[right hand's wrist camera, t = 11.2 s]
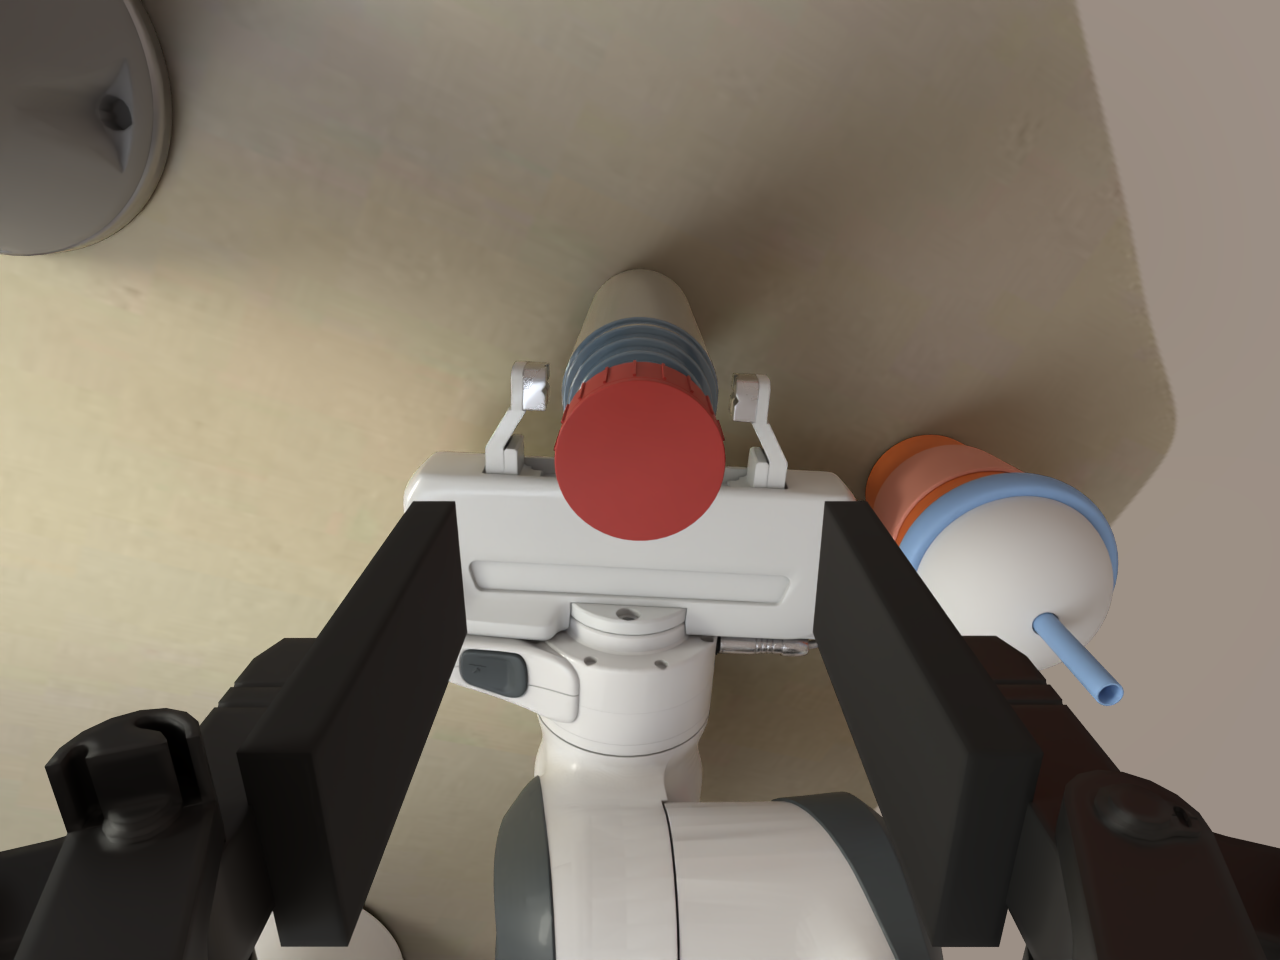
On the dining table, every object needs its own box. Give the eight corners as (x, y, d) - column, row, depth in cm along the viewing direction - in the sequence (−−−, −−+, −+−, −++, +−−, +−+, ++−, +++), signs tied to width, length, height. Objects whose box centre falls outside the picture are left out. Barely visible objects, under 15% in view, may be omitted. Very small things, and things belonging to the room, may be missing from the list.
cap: (528, 417, 21) (517, 441, 19) (664, 327, 20) (666, 343, 18) (618, 537, 23) (616, 572, 21) (749, 458, 22) (760, 486, 20)
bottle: (567, 307, 39) (497, 431, 20) (655, 247, 38) (670, 317, 19) (626, 392, 40) (613, 583, 21) (711, 336, 39) (778, 485, 20)
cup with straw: (1041, 487, 42) (1310, 693, 25) (907, 593, 44) (1071, 847, 27) (937, 370, 40) (1156, 511, 23) (801, 488, 42) (910, 695, 25)
